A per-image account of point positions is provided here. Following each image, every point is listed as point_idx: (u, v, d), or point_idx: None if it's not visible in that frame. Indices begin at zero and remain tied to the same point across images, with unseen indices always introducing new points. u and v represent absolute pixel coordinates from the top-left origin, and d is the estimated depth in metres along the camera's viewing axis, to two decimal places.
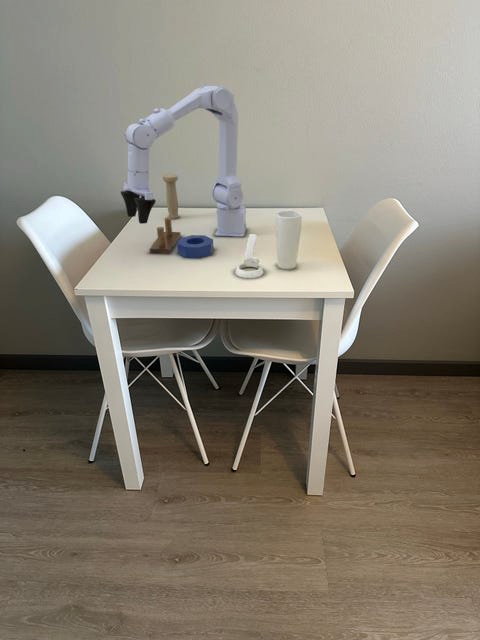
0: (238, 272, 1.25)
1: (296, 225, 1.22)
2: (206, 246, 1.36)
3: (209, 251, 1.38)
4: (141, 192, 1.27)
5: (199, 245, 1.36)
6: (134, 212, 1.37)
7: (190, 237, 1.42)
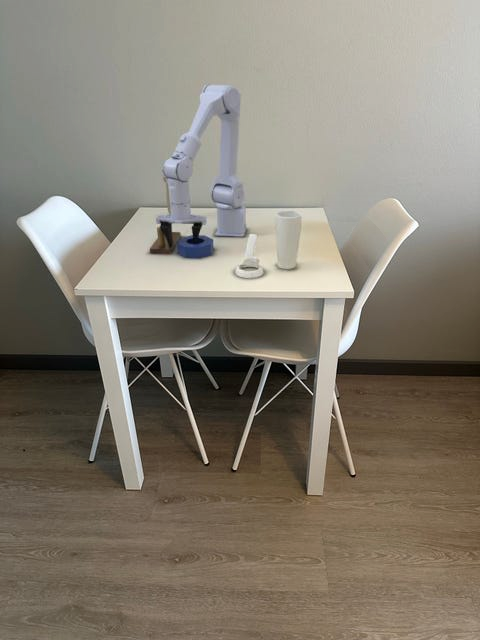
0: (238, 272, 1.25)
1: (296, 225, 1.22)
2: (206, 246, 1.36)
3: (209, 251, 1.38)
4: (197, 220, 1.34)
5: (199, 245, 1.36)
6: (172, 242, 1.41)
7: (190, 237, 1.42)
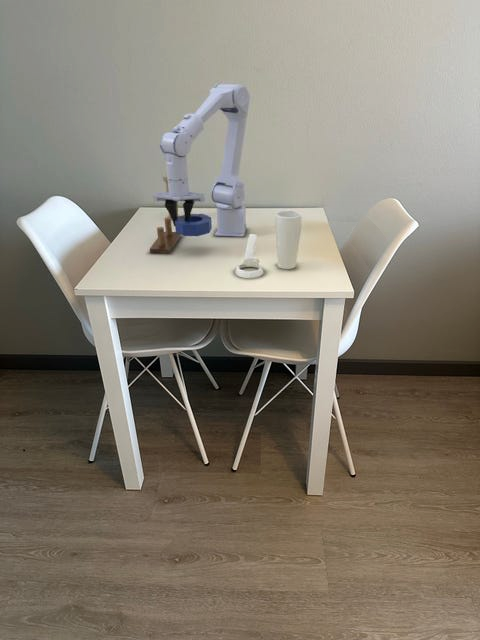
0: (238, 272, 1.25)
1: (296, 225, 1.22)
2: (204, 224, 1.33)
3: (207, 229, 1.34)
4: (195, 197, 1.31)
5: (197, 223, 1.33)
6: None
7: None
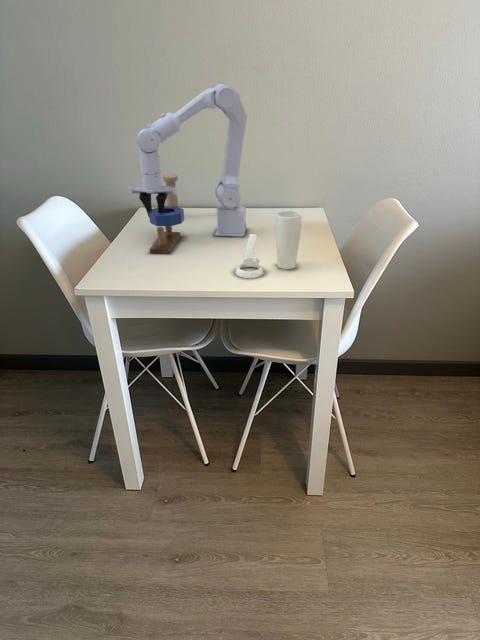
0: (238, 272, 1.25)
1: (296, 225, 1.22)
2: (176, 215, 1.42)
3: (179, 220, 1.44)
4: (167, 189, 1.41)
5: (169, 214, 1.42)
6: None
7: None
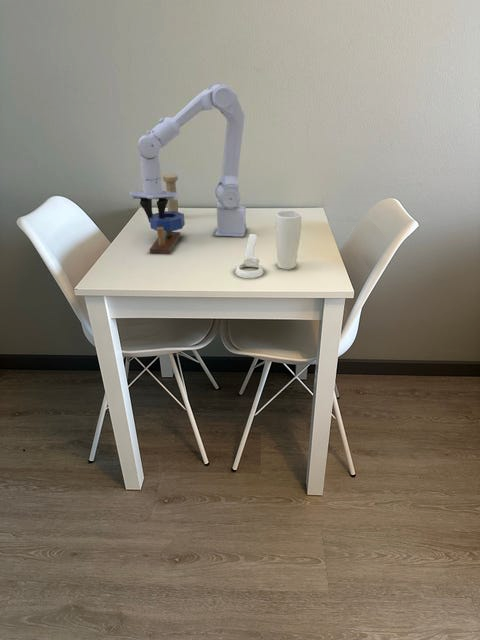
0: (238, 272, 1.25)
1: (296, 225, 1.22)
2: (177, 220, 1.43)
3: (180, 225, 1.45)
4: (168, 195, 1.41)
5: (170, 219, 1.43)
6: None
7: None
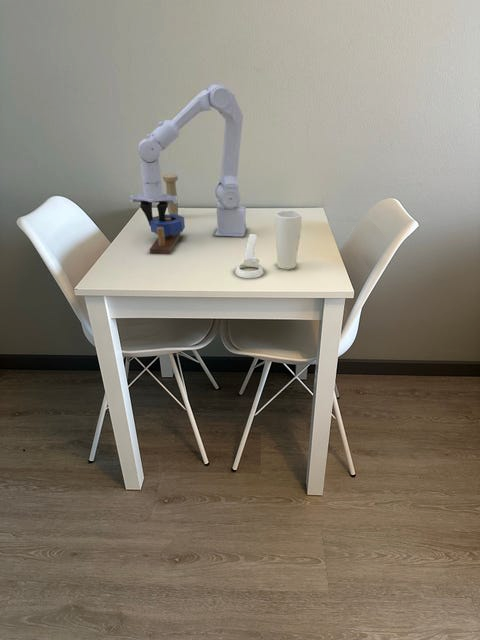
0: (238, 272, 1.25)
1: (296, 225, 1.22)
2: (177, 223, 1.44)
3: (180, 228, 1.45)
4: (168, 198, 1.42)
5: (170, 222, 1.43)
6: None
7: None
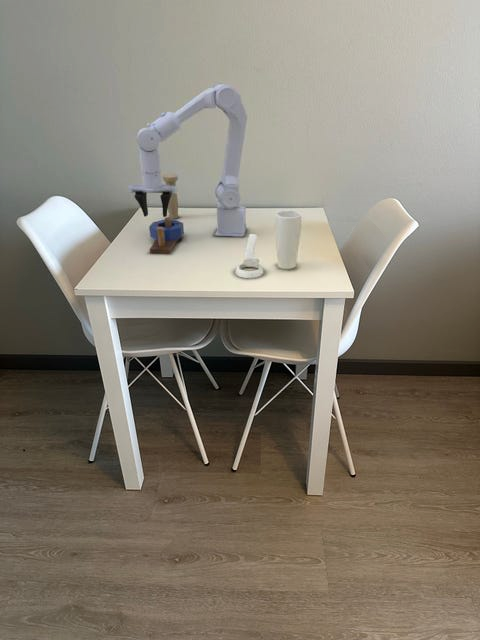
0: (238, 272, 1.25)
1: (296, 225, 1.22)
2: (176, 229, 1.45)
3: (179, 234, 1.46)
4: (167, 188, 1.40)
5: (169, 228, 1.44)
6: (147, 211, 1.47)
7: (162, 221, 1.50)
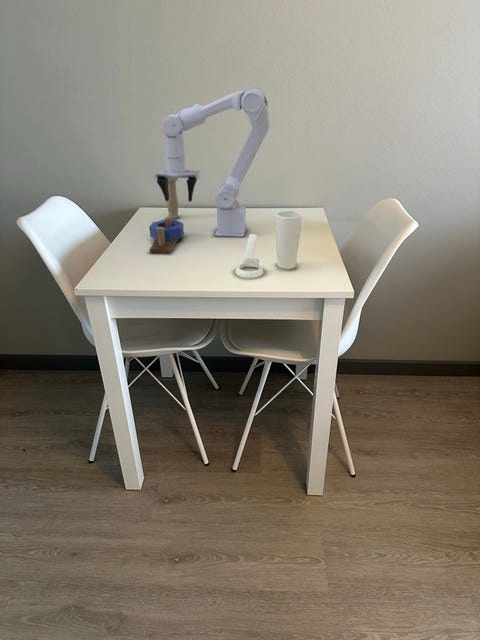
0: (238, 272, 1.25)
1: (296, 225, 1.22)
2: (176, 229, 1.45)
3: (179, 234, 1.46)
4: (191, 173, 1.45)
5: (169, 228, 1.44)
6: (168, 196, 1.52)
7: (162, 221, 1.50)
